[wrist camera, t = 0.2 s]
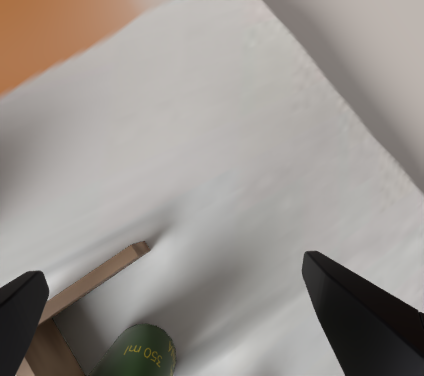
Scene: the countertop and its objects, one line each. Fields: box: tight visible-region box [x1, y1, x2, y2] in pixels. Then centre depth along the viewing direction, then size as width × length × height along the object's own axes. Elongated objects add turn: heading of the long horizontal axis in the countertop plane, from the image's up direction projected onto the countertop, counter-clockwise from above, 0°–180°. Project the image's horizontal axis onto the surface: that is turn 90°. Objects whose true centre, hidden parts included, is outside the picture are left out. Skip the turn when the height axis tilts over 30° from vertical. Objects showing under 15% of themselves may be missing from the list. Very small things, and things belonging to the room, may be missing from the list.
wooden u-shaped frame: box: [16, 241, 151, 376], centre depth 20 cm, size 16×11×4 cm
